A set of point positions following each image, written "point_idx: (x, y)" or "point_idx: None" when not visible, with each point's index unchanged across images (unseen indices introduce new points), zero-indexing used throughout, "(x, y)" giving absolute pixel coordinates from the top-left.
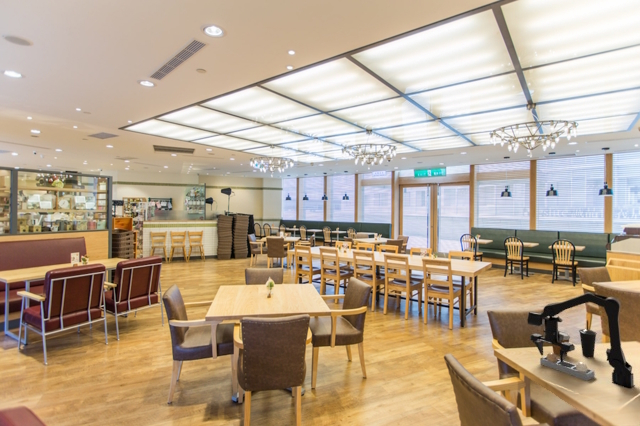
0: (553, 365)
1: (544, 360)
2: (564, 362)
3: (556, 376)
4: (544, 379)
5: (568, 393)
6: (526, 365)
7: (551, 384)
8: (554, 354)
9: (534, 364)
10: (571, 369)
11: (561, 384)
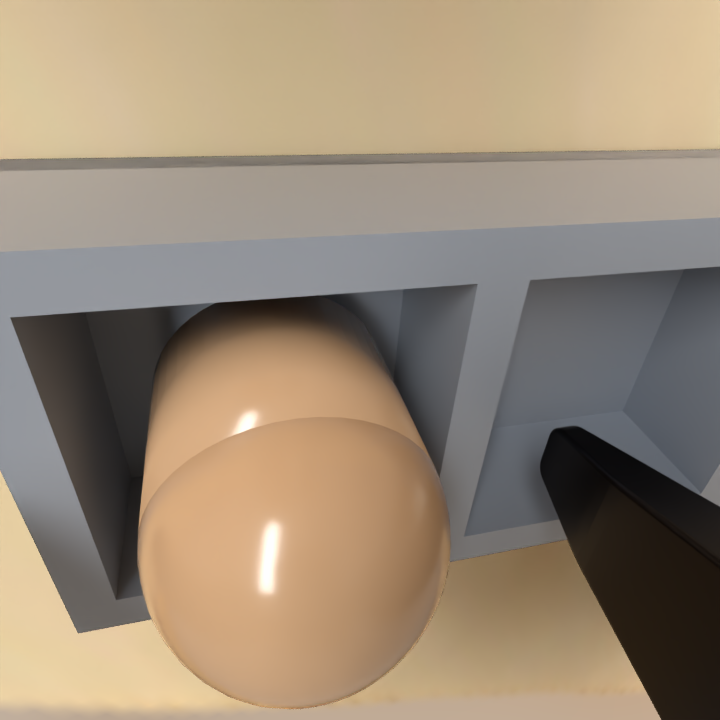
0: None
1: None
2: (570, 264)
3: (473, 571)
4: (411, 691)
5: (616, 679)
6: (31, 662)
7: (489, 694)
8: (415, 624)
9: (36, 550)
10: (713, 502)
11: (554, 639)
